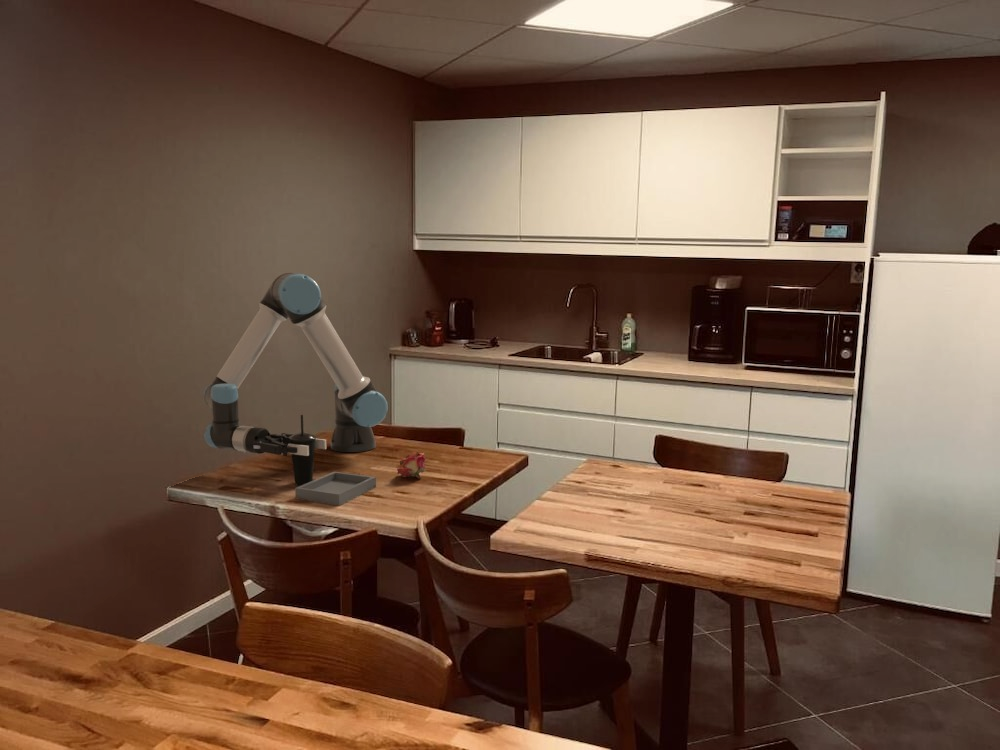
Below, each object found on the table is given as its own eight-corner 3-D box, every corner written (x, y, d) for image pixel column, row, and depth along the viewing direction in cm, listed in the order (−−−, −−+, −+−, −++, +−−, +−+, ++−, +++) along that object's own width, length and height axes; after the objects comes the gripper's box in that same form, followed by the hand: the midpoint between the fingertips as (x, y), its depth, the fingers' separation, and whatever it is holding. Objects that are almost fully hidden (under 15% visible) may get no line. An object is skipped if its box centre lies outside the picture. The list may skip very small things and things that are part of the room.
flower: (438, 471, 236) (427, 447, 238) (422, 472, 227) (411, 447, 230) (413, 486, 239) (402, 462, 241) (397, 488, 231) (386, 463, 233)
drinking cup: (310, 487, 224) (308, 418, 221) (285, 486, 226) (283, 417, 222) (321, 480, 231) (320, 413, 228) (297, 478, 233) (295, 411, 230)
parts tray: (334, 481, 230) (334, 471, 230) (376, 487, 225) (375, 477, 224) (295, 498, 214) (295, 488, 213) (339, 505, 209) (339, 494, 208)
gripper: (275, 444, 244) (338, 452, 235) (228, 460, 225) (294, 469, 216) (274, 420, 243) (337, 427, 234) (227, 434, 224) (293, 442, 215)
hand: (316, 447), depth 225 cm, fingers open, 8 cm apart
